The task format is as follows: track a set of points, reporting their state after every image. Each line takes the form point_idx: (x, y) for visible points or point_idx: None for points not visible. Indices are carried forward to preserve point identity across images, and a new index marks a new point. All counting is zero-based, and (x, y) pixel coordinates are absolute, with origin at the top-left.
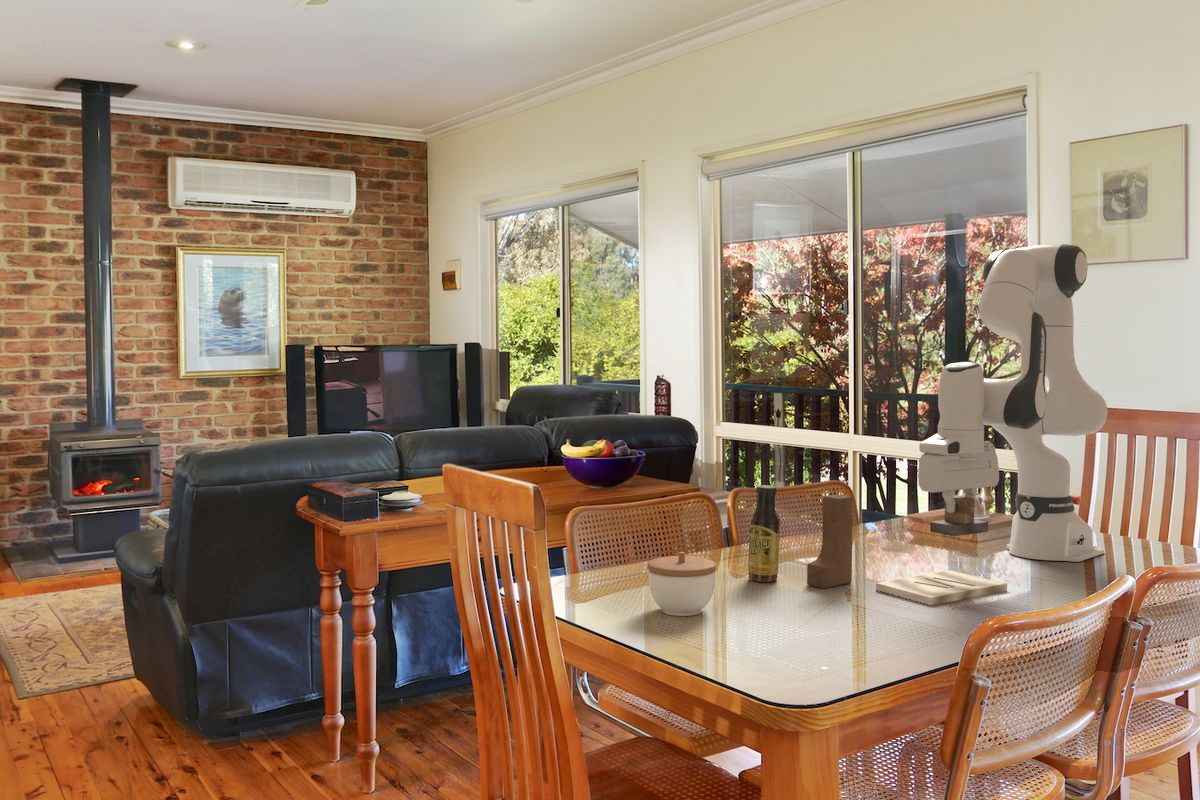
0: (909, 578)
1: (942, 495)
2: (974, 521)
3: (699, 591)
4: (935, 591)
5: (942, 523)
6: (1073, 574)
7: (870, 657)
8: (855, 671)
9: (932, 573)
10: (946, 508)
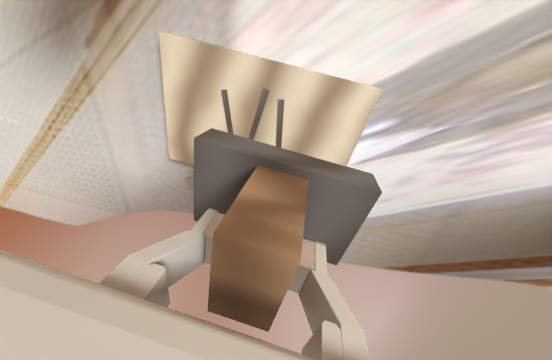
0: (242, 62)
1: (134, 252)
2: (316, 238)
3: None
4: None
5: (203, 180)
6: (526, 245)
7: (25, 184)
8: (4, 189)
9: (321, 74)
10: (203, 214)
